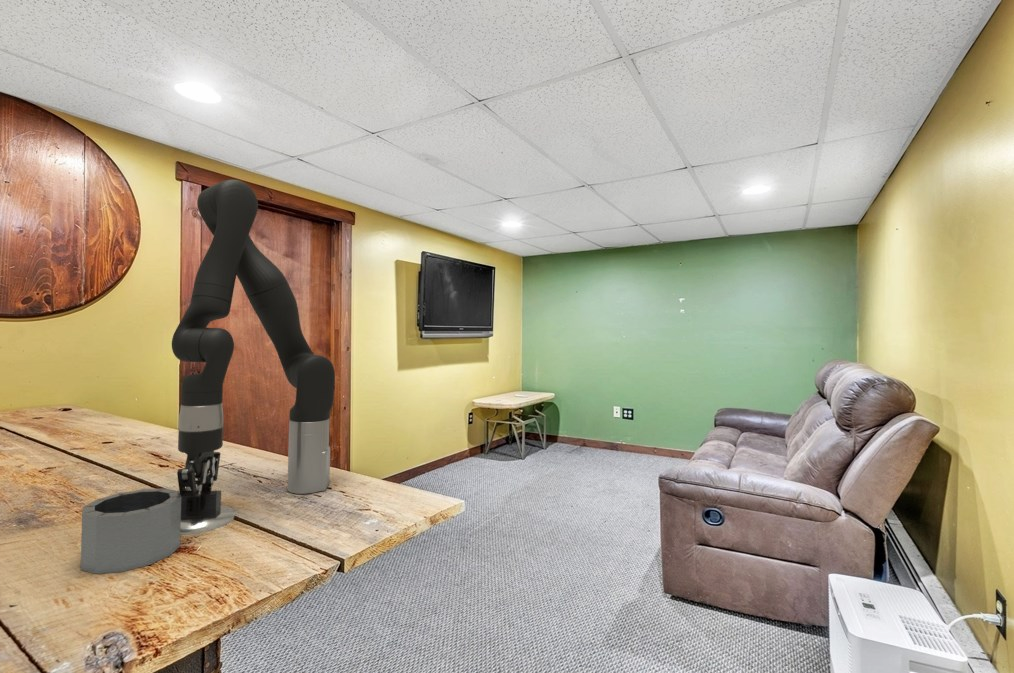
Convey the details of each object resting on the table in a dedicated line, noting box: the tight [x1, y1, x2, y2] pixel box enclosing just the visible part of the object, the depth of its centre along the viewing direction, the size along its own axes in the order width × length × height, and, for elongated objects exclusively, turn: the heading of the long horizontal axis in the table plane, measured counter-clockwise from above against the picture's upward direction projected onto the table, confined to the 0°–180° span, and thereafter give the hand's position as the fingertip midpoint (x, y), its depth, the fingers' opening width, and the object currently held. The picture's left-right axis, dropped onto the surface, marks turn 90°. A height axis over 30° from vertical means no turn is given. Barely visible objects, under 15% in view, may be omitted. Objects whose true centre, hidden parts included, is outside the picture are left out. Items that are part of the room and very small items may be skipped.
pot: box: [80, 487, 181, 575], centre depth 79 cm, size 13×13×9 cm
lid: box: [180, 490, 236, 536], centre depth 92 cm, size 12×12×6 cm
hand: (199, 509), depth 92 cm, fingers open, 4 cm apart
